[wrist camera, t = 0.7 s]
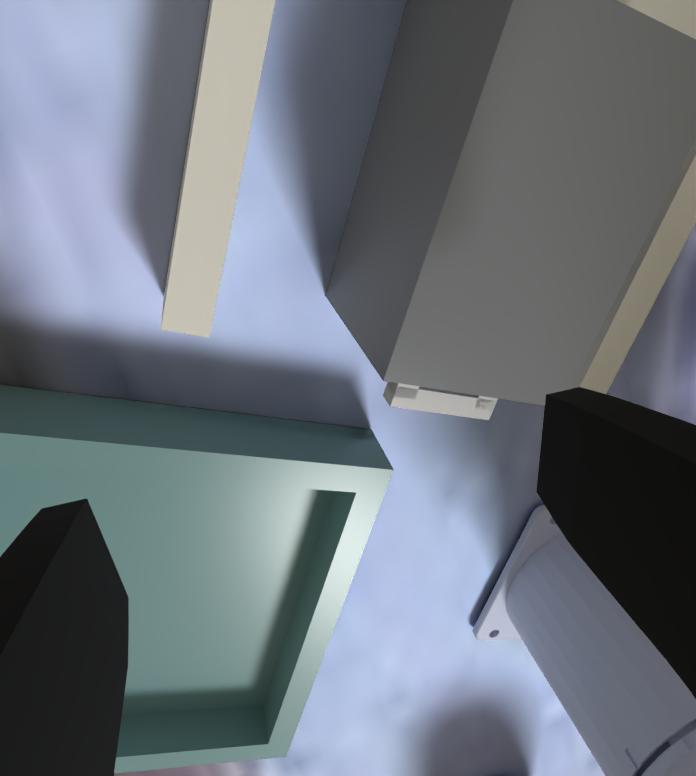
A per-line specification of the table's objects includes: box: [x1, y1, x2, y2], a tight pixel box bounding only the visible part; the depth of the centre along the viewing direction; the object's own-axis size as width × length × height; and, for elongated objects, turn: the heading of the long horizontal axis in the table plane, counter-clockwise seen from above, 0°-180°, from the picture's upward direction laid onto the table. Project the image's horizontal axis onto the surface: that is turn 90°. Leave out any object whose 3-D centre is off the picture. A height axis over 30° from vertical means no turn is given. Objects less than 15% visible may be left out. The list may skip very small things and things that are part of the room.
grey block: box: [325, 0, 696, 420], centre depth 15 cm, size 5×9×6 cm, turn 164°
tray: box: [0, 385, 393, 773], centre depth 20 cm, size 13×15×2 cm
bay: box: [161, 0, 696, 394], centre depth 15 cm, size 14×11×2 cm
